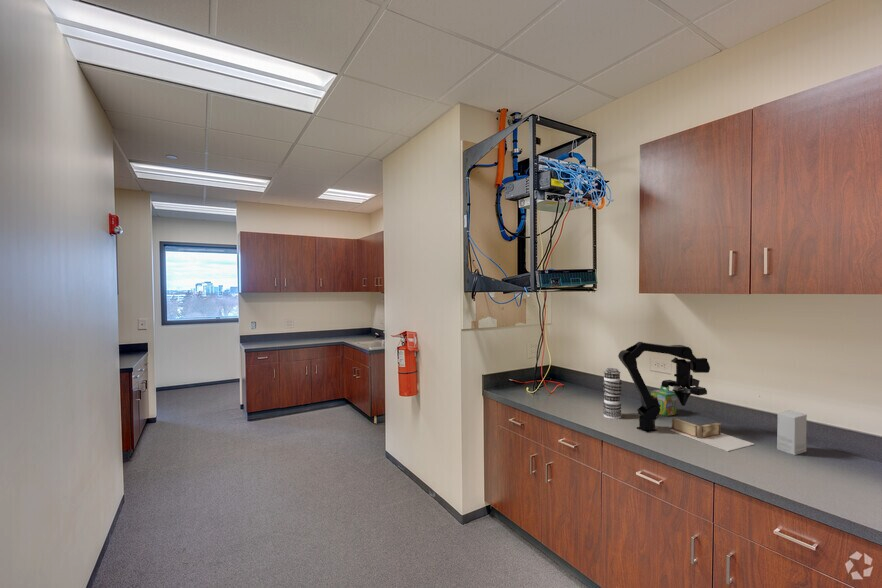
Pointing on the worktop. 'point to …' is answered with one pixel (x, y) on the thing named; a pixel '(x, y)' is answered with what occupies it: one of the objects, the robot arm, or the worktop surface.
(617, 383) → the decorative candle
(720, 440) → the fence post and layout card
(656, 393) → the chalk box
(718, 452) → the worktop surface
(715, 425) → the folding fence panel
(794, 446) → the skincare box
